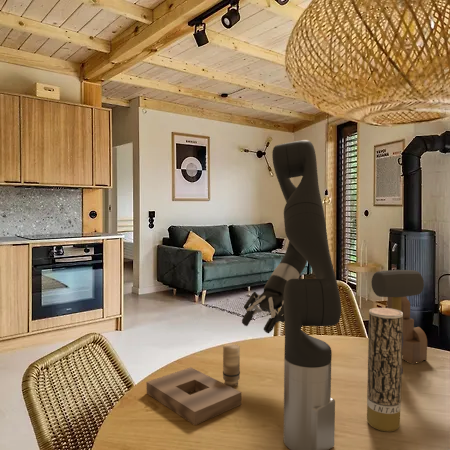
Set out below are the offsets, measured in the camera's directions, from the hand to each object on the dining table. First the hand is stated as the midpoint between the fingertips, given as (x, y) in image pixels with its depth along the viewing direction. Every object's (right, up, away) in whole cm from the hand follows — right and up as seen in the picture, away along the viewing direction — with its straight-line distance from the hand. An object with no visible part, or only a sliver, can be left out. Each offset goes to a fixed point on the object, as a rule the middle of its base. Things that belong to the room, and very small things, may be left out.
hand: (254, 327), depth 116 cm
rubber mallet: (+39, -14, 0) cm, 41 cm away
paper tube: (+26, -15, -25) cm, 39 cm away
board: (-16, -14, -14) cm, 26 cm away
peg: (-7, -14, -5) cm, 16 cm away
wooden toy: (+48, -13, +17) cm, 52 cm away
